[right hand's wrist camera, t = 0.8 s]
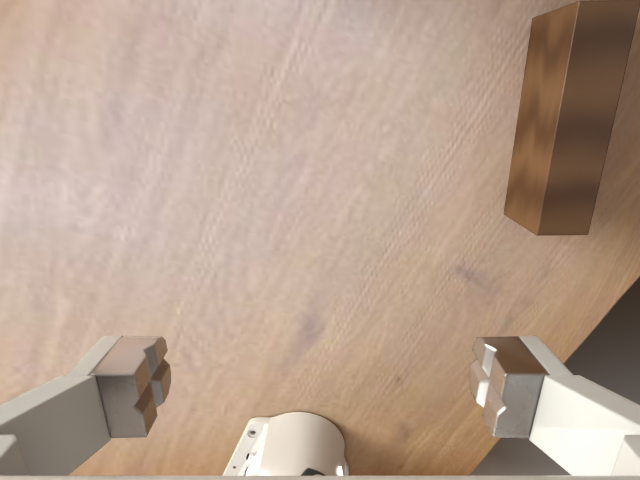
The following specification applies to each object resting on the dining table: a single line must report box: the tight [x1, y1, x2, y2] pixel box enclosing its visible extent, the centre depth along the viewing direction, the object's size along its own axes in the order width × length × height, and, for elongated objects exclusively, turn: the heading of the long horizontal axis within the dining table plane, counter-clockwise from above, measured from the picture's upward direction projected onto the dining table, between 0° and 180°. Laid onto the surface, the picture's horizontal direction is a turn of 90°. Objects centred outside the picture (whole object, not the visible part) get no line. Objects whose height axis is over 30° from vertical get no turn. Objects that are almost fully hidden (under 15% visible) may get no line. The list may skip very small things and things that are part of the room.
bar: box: [504, 0, 640, 235], centre depth 43 cm, size 22×6×8 cm, turn 1°
